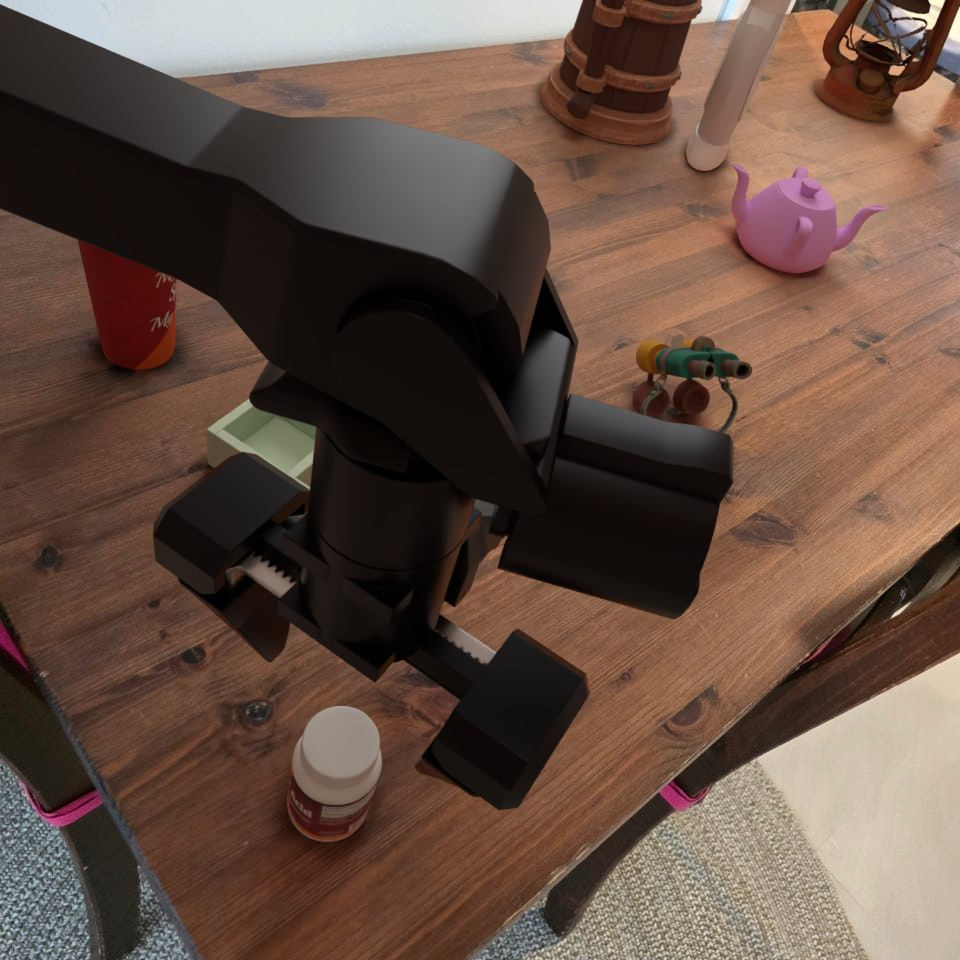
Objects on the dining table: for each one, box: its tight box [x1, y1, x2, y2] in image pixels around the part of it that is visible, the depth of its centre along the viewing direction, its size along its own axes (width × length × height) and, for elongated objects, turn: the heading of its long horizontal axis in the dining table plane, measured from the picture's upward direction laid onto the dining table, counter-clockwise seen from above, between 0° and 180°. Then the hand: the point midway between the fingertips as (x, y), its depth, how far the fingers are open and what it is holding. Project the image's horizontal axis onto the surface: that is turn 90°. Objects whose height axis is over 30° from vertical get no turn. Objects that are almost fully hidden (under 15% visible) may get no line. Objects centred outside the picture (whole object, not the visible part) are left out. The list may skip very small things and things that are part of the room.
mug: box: [539, 0, 703, 146], centre depth 111 cm, size 18×23×20 cm
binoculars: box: [631, 335, 753, 434], centre depth 76 cm, size 9×9×10 cm
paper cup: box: [77, 240, 178, 371], centre depth 68 cm, size 8×8×14 cm
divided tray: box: [206, 398, 316, 518], centre depth 70 cm, size 14×21×4 cm
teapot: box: [730, 162, 888, 274], centre depth 101 cm, size 12×14×9 cm
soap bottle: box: [685, 0, 792, 172], centre depth 108 cm, size 13×8×24 cm, turn 157°
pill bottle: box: [286, 705, 383, 843], centre depth 49 cm, size 5×5×8 cm
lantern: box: [814, 0, 960, 124], centre depth 130 cm, size 17×13×30 cm
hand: (347, 707), depth 43 cm, fingers open, 9 cm apart
